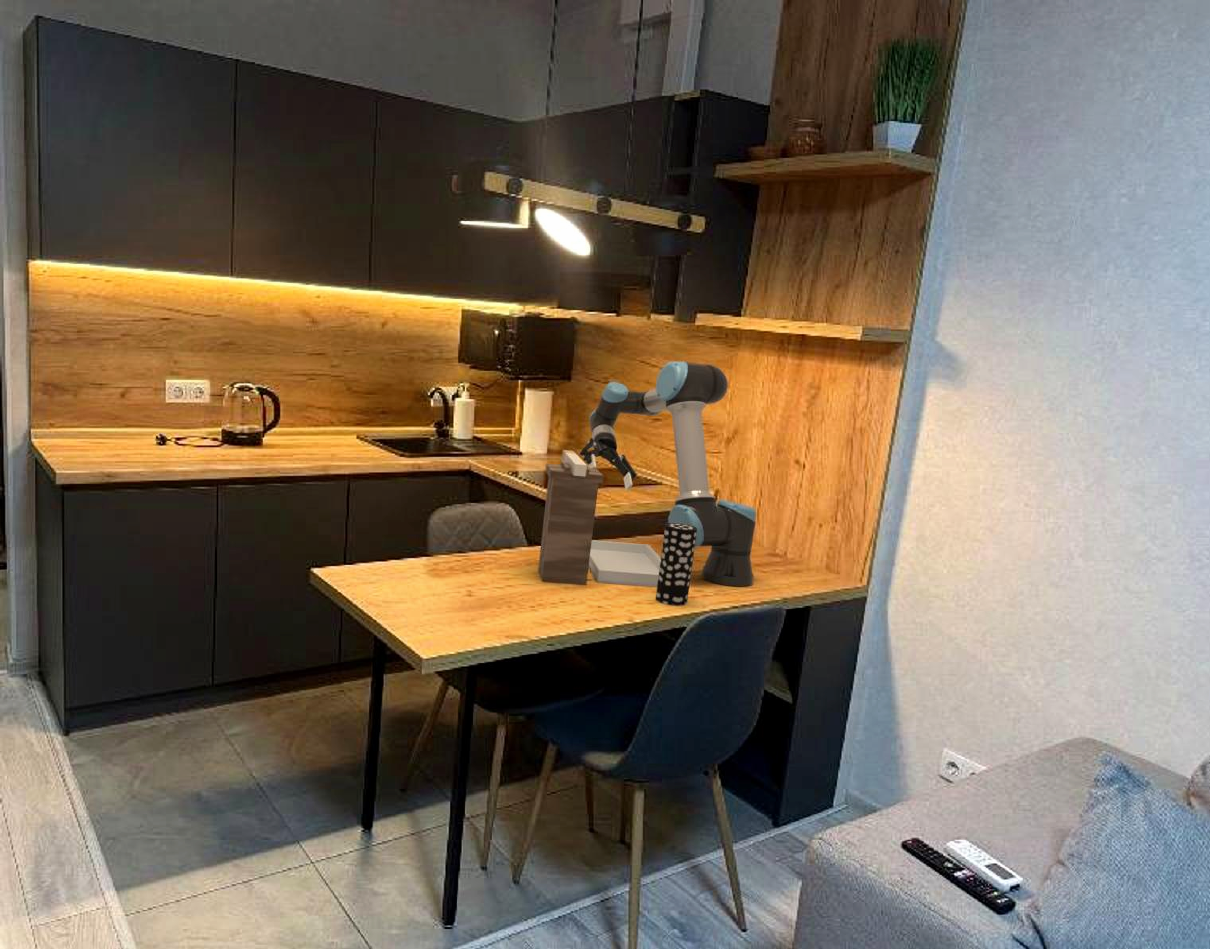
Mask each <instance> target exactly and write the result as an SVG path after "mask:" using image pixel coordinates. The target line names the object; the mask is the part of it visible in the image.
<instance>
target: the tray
mask: <svg viewBox="0 0 1210 949" xmlns="http://www.w3.org/2000/svg"><path fill="white" fill-rule="evenodd" d="M660 561H661V556H660V555H659V554H657V552H656V551H655V550H654V549H653V548H652V547H651V545H650V544H646V543H643V544H642V543H635V542H634V543H632V542H631V543H630V542H620V541H610V540H596V539H592V542H591V551H590V559H589V567H588V570H590V572H591V574H592V575H593V578H594V579H595V581H596V583H598V584H609V585H610V584H611V585H623V586H636V587H649V588H650V587H651V588H657V584H658V576H659V569H660Z"/></svg>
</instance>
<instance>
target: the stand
mask: <svg viewBox="0 0 1210 949" xmlns="http://www.w3.org/2000/svg"><path fill="white" fill-rule="evenodd" d="M545 472H546V474H547V477H548V479H547V487H546V488H547V489H546V496H545V503H544V504H545V505H544V506H545V507H544V513H543V514H544V515H543V521H542V522H543V525H542V532H541V533H542V534H541V540H540V551H539V559H538V568H537V569H538V570H537V571H538V574H539V578H540V580H541V582H542V583H552V584H553V583H555V584H565V585H566V584H568V585H581V586H587V582H588V574H589V573H588V572H589V559H590V551H591V542H592V540H593V531H594V525H595V517H596V516H595V515H596V507H597V501H598V494H599V493H598V492H599V486H600V484H603V483H604V475H603V473H602V472H600V471H599V469H597V467H596V468H589V467H587V468H586V476H585V477H584V476H574V475H573V474H572V472H571V471H570V467H569V466H568V465H567V464H566V462H565V461H562V460H560V464H554V463H553V464H552V463H546V464H545Z"/></svg>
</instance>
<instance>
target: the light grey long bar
mask: <svg viewBox="0 0 1210 949" xmlns="http://www.w3.org/2000/svg"><path fill="white" fill-rule="evenodd" d="M561 455H562V456H561V461H565V462H566V464H567V465H568V466H569V467H570V471H571V472H572V474H573V475H574V476H584V477H585V476H586V468H588V464H587V463H586V462H584V460H583V459H582V458H581V457H580V456H578V454H577V453H576V452H575V451H574V450H570V449H569V450H567V449H566V450H565V449H562V454H561Z"/></svg>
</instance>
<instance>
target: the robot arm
mask: <svg viewBox="0 0 1210 949" xmlns="http://www.w3.org/2000/svg"><path fill="white" fill-rule="evenodd" d="M655 383H656V385H655V388H653V389H650V390H646V391H631V390H629V389H628V388H627V386H625V384H622V383H619V382H617V381H610V382H608V384H607V385H606V387H605V388H604V391H602V394H601V397H600V399H599V403H598V405H597V408H596V409H594V410H593V411H592V412H591V413H590V415H589V428H590V431H591V437H590V439H589V440H587V442H586V445H584V447H583V448H582V449H581V451H580V452H579V455H580V456H581V457H582V456H584V457H583V458H582V461H583V462H584V461H585V463H586V464H587V468H596V469H597V464H596V463H597V462H596V458H598V457H601V458H602V459H603V460H604V459H605V460H606V461H608V462H609V463H610V465H612V466H614V467H615V468H616V469H617V471H618V472H620V474H621V475H622V476H623V479H622V480H623V483H624V488H625V491H627V492H628V491H629V490H630V489H631V488H632V486H634V485H633V482H634V479H635V478H636V477H637V475H638V474H637V473H636V471H635V470H634V468H633V467H632V466H631V464H630V462H629V461H628V460H627V457H626V455H625V454H622V455H619V453H618V451H617V449H618V444H617V439H616V434H615V433H616V432H615V429H614V428H615V427H614V426H615V424H616V422H617V419H618V417H619V415H620V414H631V415H643V416H658V415H659V414H660V413H661V412H663V411H667V412H668V413H670V414H671V417H672V425H673V426H672V428H673V437H674V438H673V439H674V448H675V460H676V470H677V481H678V490H679V491H678V493H679V494H678V497H677V498H676V499H675V500H674V503H675V504H674V505H675V506H673V507H672V508H671V509H670V511H669V515H668V518H667V519H668V522H667V523H679V524H686V525H690V526H694V527H696V528H697V534H696V541H695V548H696V547H710V548H711V549H710V551H709V552H710V553H709V555H708V557H706V558H707V559H706V561H705V564H704V566H702V569H701V577H702V579H705V581H708V582H710V583H711V582H712V583H715V584H719V585H723V586H730V587H749V586H752V585H753V582H754V574H753V567H752V562H751V561H752V560H751V556H752V555H751V552H752V548H753V547H752V546H753V541H754V534H755V529H756V524H757V521H756V518H757V511H756V509H755V508H754V507H752V506H749V505H747V504H743V503H739V502H735V501H731V500H725V499H719V500H717V502H716V497H715V496H714V495H713V494H712V493H711V492H710V486H709V484H710V483H709V475H708V466H707V463H708V462H707V455H706V454H707V453H706V445H705V444H706V443H705V434H704V423H703V410H704V409H705V408H706V407H707V405H710V404H715V403H718V402H720V401H721V400H722V399H723V398H724V397H725V396H726V394H727V392H728V387H729V383H728V379H727V375H726V374H725V372H724V371H723V370H722V369H720V368H719V367H718V366H716V365H713V364H712V365H711V364H703V363H694V362H688V361H683V360H682V361H675V360H674V361H669V362H667V363H665V365H664V366H663V367H662V368H661V369H660V372H659V373H658V375H657V379H656V382H655ZM592 448H593V449H592ZM590 449H591V450H590Z"/></svg>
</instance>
